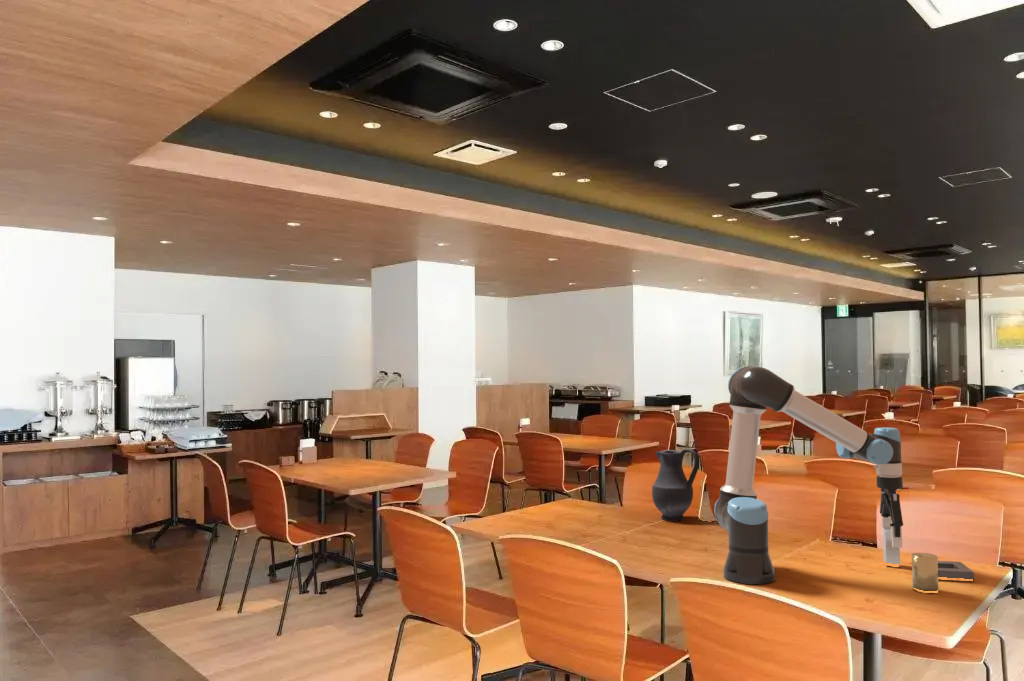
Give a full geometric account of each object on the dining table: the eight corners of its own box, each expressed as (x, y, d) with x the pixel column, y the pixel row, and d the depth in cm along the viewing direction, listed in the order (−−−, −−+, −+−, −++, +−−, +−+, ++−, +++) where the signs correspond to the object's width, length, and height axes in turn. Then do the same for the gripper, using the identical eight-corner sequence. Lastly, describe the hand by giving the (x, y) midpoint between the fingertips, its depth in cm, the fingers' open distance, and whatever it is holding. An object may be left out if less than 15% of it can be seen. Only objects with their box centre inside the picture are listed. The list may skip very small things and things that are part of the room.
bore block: (974, 582, 222) (973, 572, 222) (929, 579, 225) (928, 569, 225) (960, 571, 234) (960, 561, 234) (918, 569, 237) (918, 559, 237)
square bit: (900, 567, 239) (899, 529, 239) (886, 567, 240) (885, 529, 240) (897, 564, 243) (896, 527, 243) (883, 563, 244) (882, 526, 244)
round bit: (941, 594, 210) (940, 558, 211) (916, 593, 212) (914, 557, 213) (934, 588, 217) (933, 553, 217) (910, 586, 218) (909, 552, 219)
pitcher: (664, 513, 331) (663, 445, 332) (708, 519, 318) (707, 447, 319) (645, 519, 318) (643, 448, 319) (690, 525, 305) (688, 451, 306)
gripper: (868, 470, 255) (871, 533, 255) (885, 481, 231) (888, 551, 230) (892, 470, 253) (895, 533, 253) (912, 481, 229) (915, 551, 229)
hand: (892, 542), depth 242 cm, fingers open, 13 cm apart
